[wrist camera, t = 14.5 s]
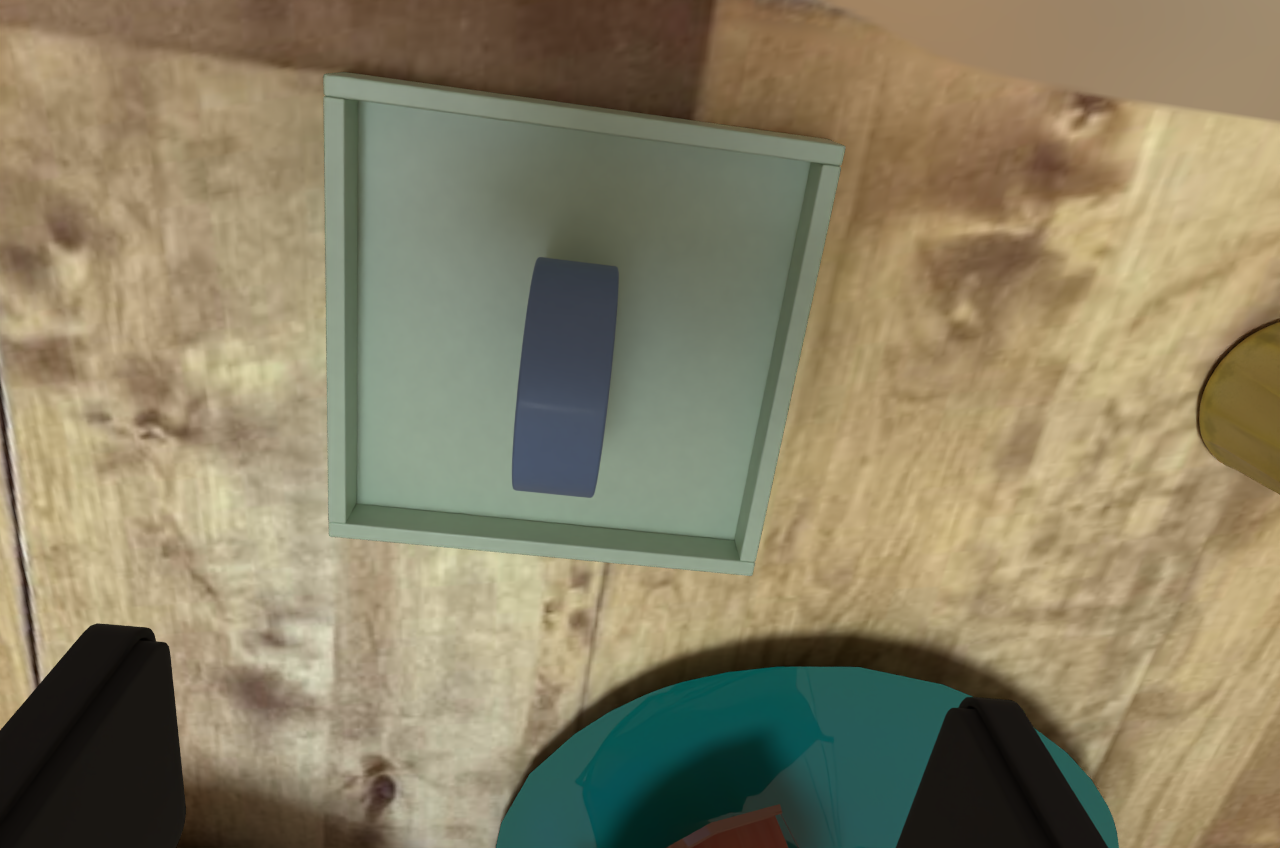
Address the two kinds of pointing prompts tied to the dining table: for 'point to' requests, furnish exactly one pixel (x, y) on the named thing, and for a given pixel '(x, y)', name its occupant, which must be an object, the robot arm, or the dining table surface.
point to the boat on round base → (752, 766)
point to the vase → (1246, 408)
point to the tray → (497, 304)
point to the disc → (564, 377)
